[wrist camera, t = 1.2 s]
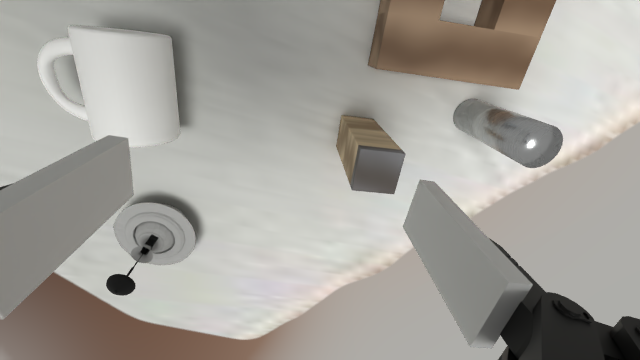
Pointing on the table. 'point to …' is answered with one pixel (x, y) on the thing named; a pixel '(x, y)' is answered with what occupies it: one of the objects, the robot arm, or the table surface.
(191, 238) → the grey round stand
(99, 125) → the mug
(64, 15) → the table surface
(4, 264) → the robot arm
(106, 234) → the table surface
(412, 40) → the bore block
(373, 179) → the square bit
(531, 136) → the round bit
